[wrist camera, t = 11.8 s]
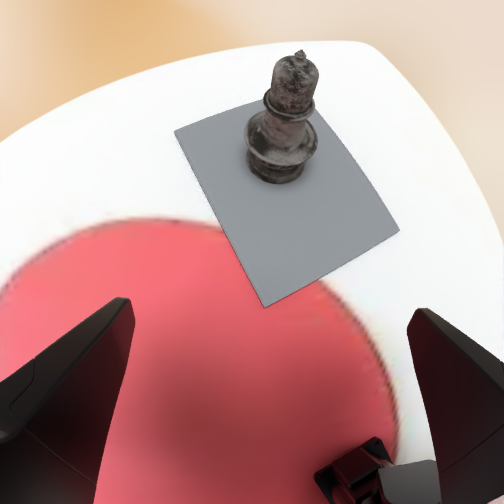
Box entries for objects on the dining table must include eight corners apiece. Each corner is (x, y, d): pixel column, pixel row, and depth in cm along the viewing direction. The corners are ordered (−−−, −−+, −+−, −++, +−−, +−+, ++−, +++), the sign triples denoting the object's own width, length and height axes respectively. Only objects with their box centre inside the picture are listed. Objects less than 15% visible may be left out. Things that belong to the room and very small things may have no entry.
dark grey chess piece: (315, 147, 25) (357, 47, 14) (296, 197, 24) (341, 96, 12) (257, 125, 26) (270, 18, 14) (231, 172, 24) (231, 60, 12)
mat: (397, 231, 24) (400, 230, 24) (264, 308, 22) (264, 307, 21) (298, 91, 28) (298, 89, 27) (174, 133, 25) (173, 131, 25)
